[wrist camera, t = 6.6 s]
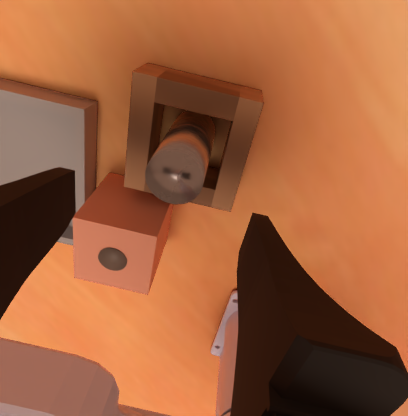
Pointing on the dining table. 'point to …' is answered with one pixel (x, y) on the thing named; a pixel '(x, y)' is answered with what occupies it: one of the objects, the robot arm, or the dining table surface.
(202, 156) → the cylinder
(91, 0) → the dining table surface
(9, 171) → the tray
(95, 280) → the block
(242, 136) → the brown square frame
